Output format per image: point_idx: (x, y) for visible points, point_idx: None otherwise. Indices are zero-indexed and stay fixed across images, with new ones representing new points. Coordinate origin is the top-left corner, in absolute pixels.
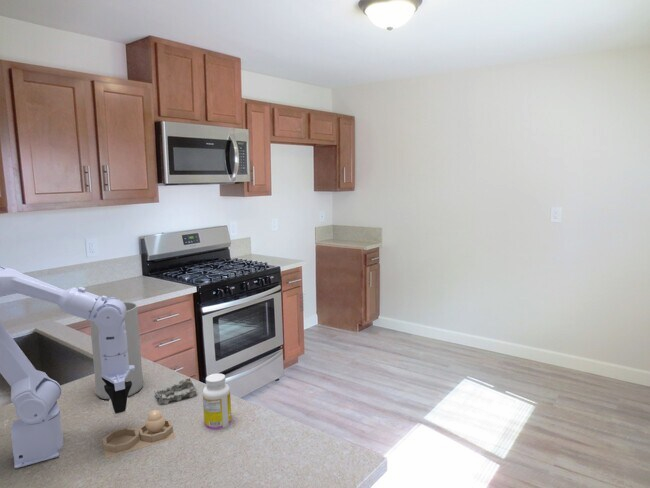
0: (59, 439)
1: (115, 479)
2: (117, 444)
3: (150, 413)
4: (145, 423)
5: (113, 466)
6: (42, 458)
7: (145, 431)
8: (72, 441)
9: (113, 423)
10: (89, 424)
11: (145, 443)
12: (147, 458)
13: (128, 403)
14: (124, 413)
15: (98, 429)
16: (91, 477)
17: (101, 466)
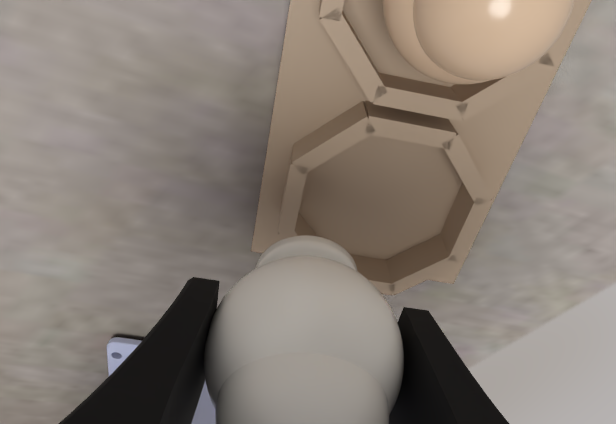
0: (212, 412)
1: (607, 271)
2: (378, 215)
3: (503, 63)
4: (435, 79)
5: (508, 253)
6: None
7: (364, 40)
8: (159, 319)
9: (70, 144)
10: (19, 239)
11: (509, 95)
12: (608, 116)
13: (367, 290)
14: (353, 262)
15: (103, 220)
16: (501, 324)
17: (460, 285)
